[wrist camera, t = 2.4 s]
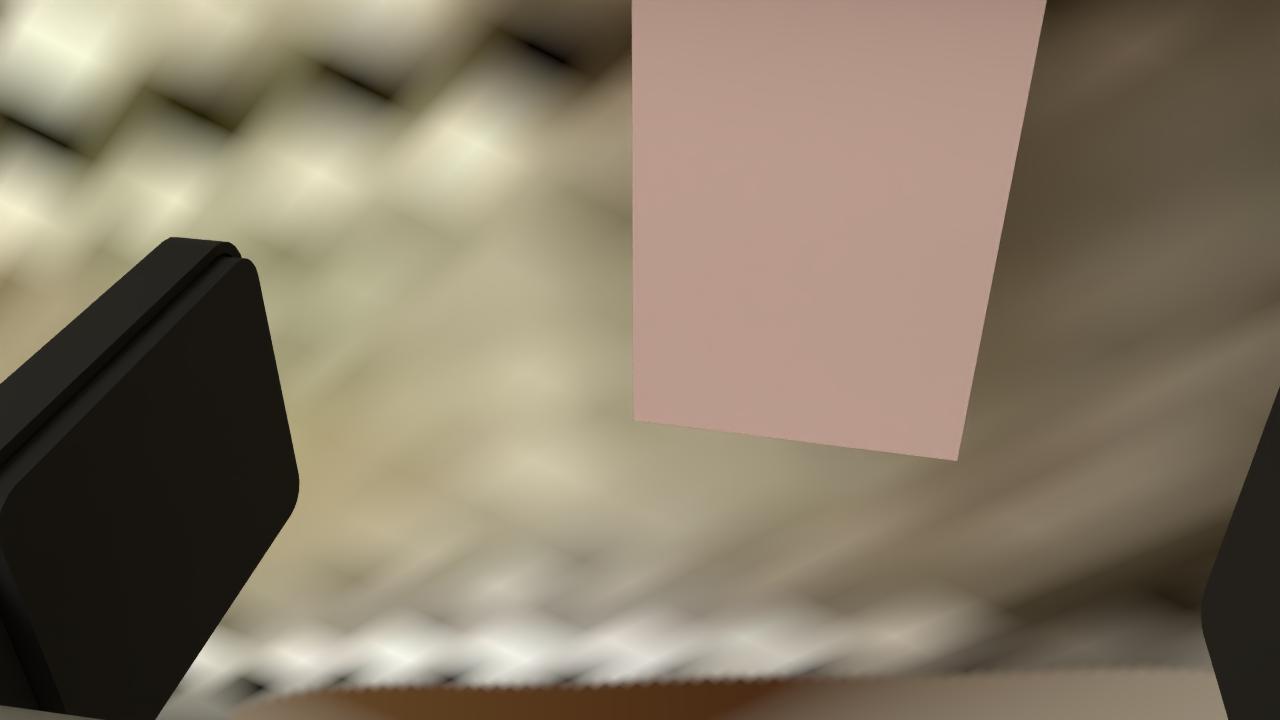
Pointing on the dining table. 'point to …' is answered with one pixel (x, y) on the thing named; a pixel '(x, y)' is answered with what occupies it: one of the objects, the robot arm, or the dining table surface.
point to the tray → (821, 211)
